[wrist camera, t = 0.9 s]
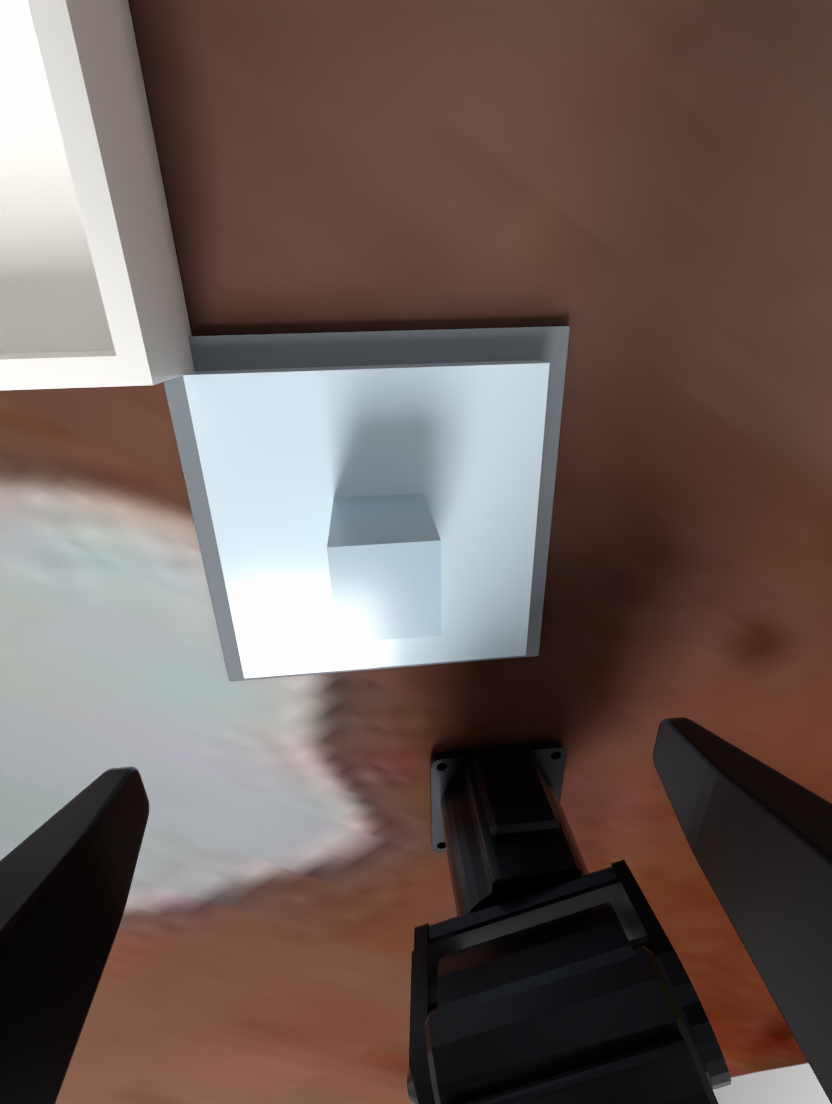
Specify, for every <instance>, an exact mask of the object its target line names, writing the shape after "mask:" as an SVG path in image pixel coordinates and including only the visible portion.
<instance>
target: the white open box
mask: <svg viewBox="0 0 832 1104" xmlns="http://www.w3.org/2000/svg"><path fill="white" fill-rule="evenodd" d="M189 336H192V334H191V329H190V324H189V318H188V313H187V308H186V303H185V297H184V292H183V287H182V282H181V276H180V271H179V266H178V261H177V255H176V250H175V245H174V239H173V234H172V229H171V224H170V218H169V213H168V208H167V203H166V197H165V192H164V187H163V181H162V176H161V171H160V166H159V160H158V155H157V150H156V145H155V139H154V134H153V129H152V124H151V118H150V113H149V108H148V102H147V97H146V92H145V87H144V81H143V76H142V71H141V66H140V60H139V55H138V50H137V45H136V39H135V34H134V29H133V23H132V18H131V13H130V8H129V2H128V0H0V390H28V389H57V388H85V387H114V386H143V385H155V384H158V383H161V382H164V381H167V380H170V379H173V378H176V377H179V376H182V375H185V374H188V373H191V372H194V371H195V370H194V365H193V360H192V355H191V349H190V344H189V339H188V337H189Z"/></svg>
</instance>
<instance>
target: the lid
mask: <svg viewBox="0 0 832 1104" xmlns="http://www.w3.org/2000/svg"><path fill="white" fill-rule="evenodd" d="M549 366H550V363H548V362H544V361H539V360H523V361H492V362H462V363H431V364H401V365H370V366H339V367H309V368H278V369H248V370H217V371H194V372H191V373H188V374H185V375H183V378H184V383H185V388H186V393H187V398H188V403H189V408H190V413H191V418H192V423H193V428H194V433H195V438H196V442H197V447H198V452H199V457H200V462H201V467H202V472H203V477H204V482H205V487H206V492H207V497H208V502H209V507H210V512H211V517H212V521H213V526H214V531H215V536H216V541H217V546H218V551H219V556H220V561H221V566H222V571H223V576H224V581H225V586H226V591H227V596H228V600H229V605H230V610H231V615H232V620H233V625H234V630H235V635H236V640H237V645H238V650H239V655H240V660H241V665H242V670H243V674H244V678H256V677H268V676H281V675H293V674H305V673H317V672H329V671H341V670H353V669H366V668H378V667H390V666H402V665H414V664H426V663H439V662H451V661H463V660H475V659H487V658H499V657H512V656H524V655H526V646H527V634H528V622H529V610H530V597H531V585H532V573H533V561H534V549H535V536H536V524H537V512H538V500H539V488H540V475H541V463H542V451H543V439H544V427H545V414H546V402H547V390H548V378H549Z"/></svg>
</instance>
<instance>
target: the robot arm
mask: <svg viewBox="0 0 832 1104" xmlns="http://www.w3.org/2000/svg"><path fill="white" fill-rule="evenodd" d="M554 752H555V753H554ZM565 760H566V751H565V749H564V747H563V745H562V744H561V743H560V742H555V741H553V742H543V743H533V744H523V745H512V746H502V747H492V748H481V749H471V750H461V751H451V752H440V753H436V754H435V755H433V756H432V757H431V759H430V793H431V842H432V848H433V850H435V851H437V852H446V851H447V856H448V862H449V868H450V874H451V880H452V886H453V892H454V898H455V904H456V910H457V916H458V917H455V918H451V919H448V920H445V921H442V922H439V923H436V924H433V925H430V926H429V924H428V923H427V924H424V925H421V926H418V927H415V935H414V951H412V969H411V1007H410V1045H409V1070H408V1076H407V1089H408V1094H409V1098H410V1101H411V1102H412V1103H413V1104H718V1102H717V1099H716V1097H715V1095H714V1092H713V1090H712V1089H717V1088H720V1087H723V1086H727V1085H730V1084H731V1079H730V1075H729V1071H728V1068H727V1065H726V1062H725V1060H724V1057H723V1054H722V1052H721V1049H720V1047H719V1044H718V1042H717V1039H716V1037H715V1034H714V1032H713V1030H712V1027H711V1025H710V1023H709V1020H708V1018H707V1016H706V1014H705V1011H704V1009H703V1007H702V1005H701V1002H700V1000H699V998H698V996H697V994H696V992H695V990H694V988H693V985H692V983H691V981H690V979H689V977H688V975H687V973H686V971H685V969H684V967H683V965H682V963H681V962H680V960H679V958H678V956H677V954H676V952H675V950H674V948H673V947H672V945H671V943H670V941H669V939H668V938H667V936H666V934H665V932H664V930H663V929H662V927H661V925H660V923H659V921H658V920H657V918H656V916H655V914H654V913H653V911H652V909H651V907H650V905H649V904H648V902H647V900H646V898H645V896H644V895H643V893H642V891H641V889H640V887H639V886H638V884H637V882H636V880H635V878H634V877H633V875H632V873H631V871H630V869H629V868H628V866H627V864H626V862H625V860H621V861H618V862H615V863H612V864H611V867H608V868H605V869H602V870H599V871H596V872H593V873H590V874H589V872H588V870H587V867H586V865H585V862H584V860H583V858H582V855H581V853H580V850H579V848H578V846H577V843H576V841H575V838H574V836H573V834H572V831H571V829H570V826H569V824H568V821H567V819H566V817H565V814H564V812H563V809H562V807H561V805H560V797H561V790H562V782H563V775H564V768H565ZM653 760H654V764H655V767H656V770H657V772H658V775H659V777H660V779H661V781H662V784H663V786H664V788H665V791H666V793H667V795H668V797H669V800H670V802H671V804H672V807H673V809H674V811H675V814H676V816H677V818H678V820H679V823H680V825H681V827H682V830H683V832H684V834H685V836H686V839H687V841H688V843H689V845H690V847H691V849H692V852H693V854H694V855H695V857H696V859H697V861H698V863H699V865H700V867H701V869H702V871H703V872H704V874H705V876H706V878H707V880H708V881H709V883H710V885H711V887H712V889H713V890H714V892H715V894H716V896H717V898H718V899H719V901H720V903H721V905H722V907H723V909H724V910H725V912H726V914H727V916H728V918H729V919H730V921H731V923H732V925H733V927H734V928H735V930H736V932H737V934H738V936H739V938H740V939H741V941H742V943H743V945H744V947H745V948H746V950H747V952H748V954H749V956H750V957H751V959H752V961H753V963H754V965H755V966H756V968H757V970H758V972H759V974H760V976H761V977H762V979H763V981H764V983H765V985H766V986H767V988H768V990H769V992H770V994H771V995H772V997H773V999H774V1001H775V1003H776V1004H777V1006H778V1008H779V1010H780V1012H781V1014H782V1015H783V1017H784V1019H785V1021H786V1023H787V1024H788V1026H789V1028H790V1030H791V1032H792V1033H793V1035H794V1037H795V1039H796V1041H797V1043H798V1044H799V1046H800V1048H801V1050H802V1052H803V1053H804V1055H805V1057H806V1059H807V1061H808V1062H809V1064H810V1066H811V1068H812V1070H813V1071H814V1073H815V1075H816V1077H817V1079H818V1080H819V1082H820V1084H821V1086H822V1088H823V1090H824V1091H825V1093H826V1095H827V1097H828V1098H829V1100H830V1102H831V1104H832V804H831V803H830V802H828V801H826V800H825V799H823V798H821V797H820V796H818V795H816V794H814V793H813V792H811V791H809V790H808V789H806V788H804V787H803V786H801V785H799V784H798V783H796V782H794V781H793V780H791V779H789V778H788V777H786V776H784V775H782V774H781V773H779V772H777V771H776V770H774V769H772V768H771V767H769V766H767V765H766V764H764V763H762V762H761V761H759V760H757V759H755V758H754V757H752V756H750V755H749V754H747V753H745V752H744V751H742V750H740V749H739V748H737V747H735V746H734V745H732V744H730V743H729V742H727V741H725V740H723V739H722V738H720V737H718V736H717V735H715V734H713V733H712V732H710V731H708V730H707V729H705V728H703V727H702V726H700V725H698V724H697V723H695V722H693V721H691V720H690V719H687V718H683V717H681V718H669V719H664V720H663V721H662V722H661V723H660V725H659V730H658V734H657V738H656V743H655V747H654V751H653ZM440 763H443V764H440ZM148 816H149V801H148V797H147V794H146V791H145V788H144V785H143V782H142V779H141V776H140V773H139V771H138V770H137V769H136V768H135V767H123V768H112V769H109V770H107V771H106V772H104V773H103V774H102V775H101V776H99V777H98V778H97V779H96V780H95V781H93V782H92V783H91V784H90V785H89V786H88V787H86V788H85V789H84V790H83V791H82V792H81V793H79V794H78V795H77V796H76V797H75V798H74V799H72V800H71V801H70V802H69V803H68V804H67V805H65V806H64V807H63V808H62V809H61V810H59V811H58V812H57V813H56V814H55V815H54V816H52V817H51V818H50V819H49V820H48V821H47V822H45V823H44V824H43V825H42V826H41V827H40V828H38V829H37V830H36V831H35V832H34V833H32V834H31V835H30V836H29V837H28V838H27V839H25V840H24V841H23V842H22V843H21V844H20V845H18V846H17V847H16V848H15V849H14V850H13V851H11V852H10V853H9V854H8V855H7V856H5V857H4V858H3V859H2V860H1V861H0V1104H55V1103H56V1100H57V1097H58V1094H59V1092H60V1089H61V1086H62V1083H63V1081H64V1078H65V1075H66V1072H67V1069H68V1067H69V1064H70V1061H71V1058H72V1056H73V1053H74V1050H75V1047H76V1045H77V1042H78V1039H79V1036H80V1034H81V1031H82V1028H83V1025H84V1023H85V1020H86V1017H87V1014H88V1012H89V1009H90V1006H91V1003H92V1000H93V998H94V995H95V992H96V989H97V987H98V984H99V981H100V978H101V976H102V973H103V970H104V967H105V965H106V962H107V959H108V956H109V954H110V951H111V948H112V945H113V942H114V940H115V937H116V934H117V931H118V928H119V925H120V922H121V919H122V916H123V913H124V909H125V906H126V902H127V898H128V894H129V890H130V887H131V883H132V879H133V875H134V871H135V867H136V863H137V859H138V855H139V851H140V847H141V843H142V840H143V836H144V832H145V828H146V824H147V820H148Z"/></svg>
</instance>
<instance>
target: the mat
mask: <svg viewBox="0 0 832 1104" xmlns="http://www.w3.org/2000/svg"><path fill="white" fill-rule="evenodd" d="M569 330H570V326H547V327H510V328H473V329H436V330H399V331H363V332H326V333H289V334H252V335H215V336H189V337H188V339H189V344H190V349H191V355H192V360H193V365H194V370H195V371H217V370H248V369H278V368H309V367H339V366H370V365H401V364H431V363H462V362H492V361H523V360H539V361H544V362H548V363H550V366H549V378H548V390H547V402H546V414H545V427H544V439H543V451H542V463H541V475H540V488H539V500H538V512H537V524H536V536H535V549H534V561H533V573H532V585H531V597H530V610H529V622H528V634H527V646H526V655H524V656H512V657H499V658H487V659H475V660H463V661H451V662H439V663H426V664H414V665H402V666H390V667H378V668H366V669H353V670H341V671H329V672H317V673H305V674H293V675H281V676H268V677H256V678H244V674H243V670H242V665H241V660H240V655H239V650H238V645H237V640H236V635H235V630H234V625H233V620H232V615H231V610H230V605H229V600H228V596H227V591H226V586H225V581H224V576H223V571H222V566H221V561H220V556H219V551H218V546H217V541H216V536H215V531H214V526H213V521H212V517H211V512H210V507H209V502H208V497H207V492H206V487H205V482H204V477H203V472H202V467H201V462H200V457H199V452H198V447H197V442H196V438H195V433H194V428H193V423H192V418H191V413H190V408H189V403H188V398H187V393H186V388H185V383H184V378H183V375H182V376H179V377H176V378H173V379H170V380H167V381H164V386H165V390H166V395H167V399H168V404H169V409H170V413H171V418H172V422H173V427H174V431H175V436H176V441H177V445H178V450H179V454H180V459H181V463H182V468H183V473H184V477H185V482H186V486H187V491H188V495H189V500H190V505H191V509H192V514H193V518H194V523H195V527H196V532H197V537H198V541H199V546H200V550H201V555H202V560H203V564H204V569H205V573H206V578H207V582H208V587H209V592H210V596H211V601H212V605H213V610H214V614H215V619H216V624H217V628H218V633H219V637H220V642H221V646H222V651H223V656H224V660H225V665H226V669H227V674H228V678H229V681H241V680H253V679H265V678H277V677H289V676H301V675H314V674H326V673H338V672H350V671H362V670H374V669H386V668H398V667H410V666H423V665H435V664H447V663H459V662H471V661H483V660H495V659H507V658H520V657H532V656H539V646H540V636H541V625H542V615H543V604H544V594H545V583H546V573H547V562H548V551H549V541H550V530H551V520H552V509H553V499H554V488H555V478H556V467H557V457H558V446H559V436H560V425H561V414H562V404H563V393H564V383H565V372H566V362H567V351H568V341H569Z"/></svg>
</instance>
